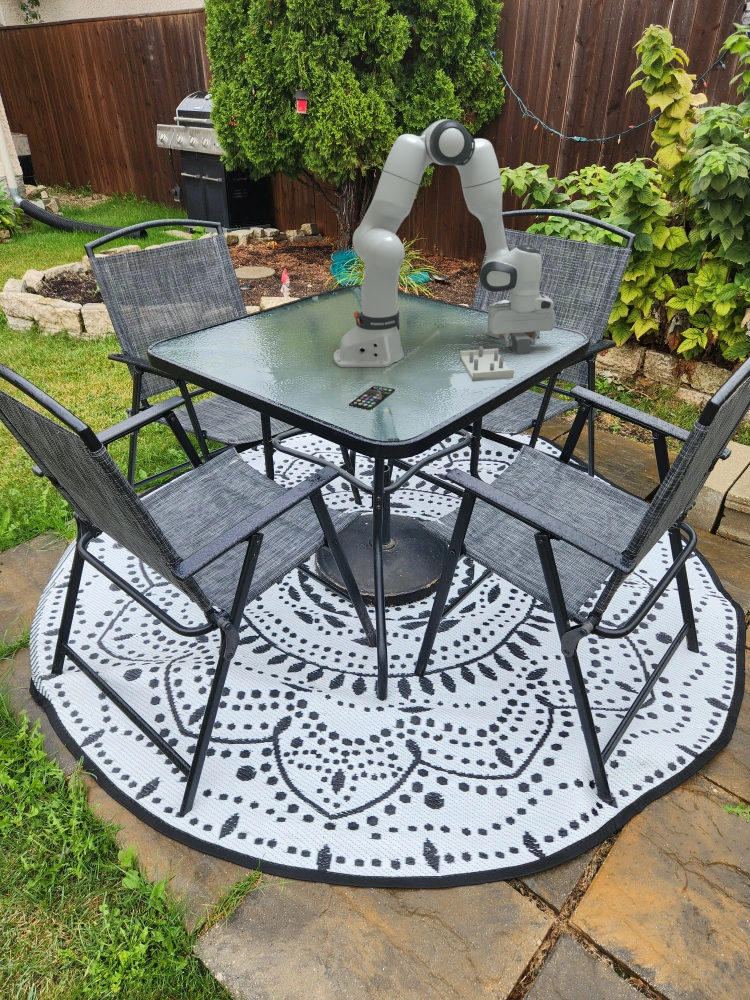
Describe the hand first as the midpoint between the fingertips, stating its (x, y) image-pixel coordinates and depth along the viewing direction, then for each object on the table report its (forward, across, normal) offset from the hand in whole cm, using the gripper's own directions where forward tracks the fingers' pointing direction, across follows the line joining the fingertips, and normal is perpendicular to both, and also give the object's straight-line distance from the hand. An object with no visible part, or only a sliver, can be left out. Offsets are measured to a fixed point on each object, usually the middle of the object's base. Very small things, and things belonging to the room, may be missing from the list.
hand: (520, 345), depth 212 cm
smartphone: (+2, -50, -27) cm, 57 cm away
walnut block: (+2, +6, +11) cm, 13 cm away
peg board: (+2, -14, -12) cm, 19 cm away
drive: (+2, 0, 0) cm, 2 cm away
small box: (+2, -2, +16) cm, 16 cm away
